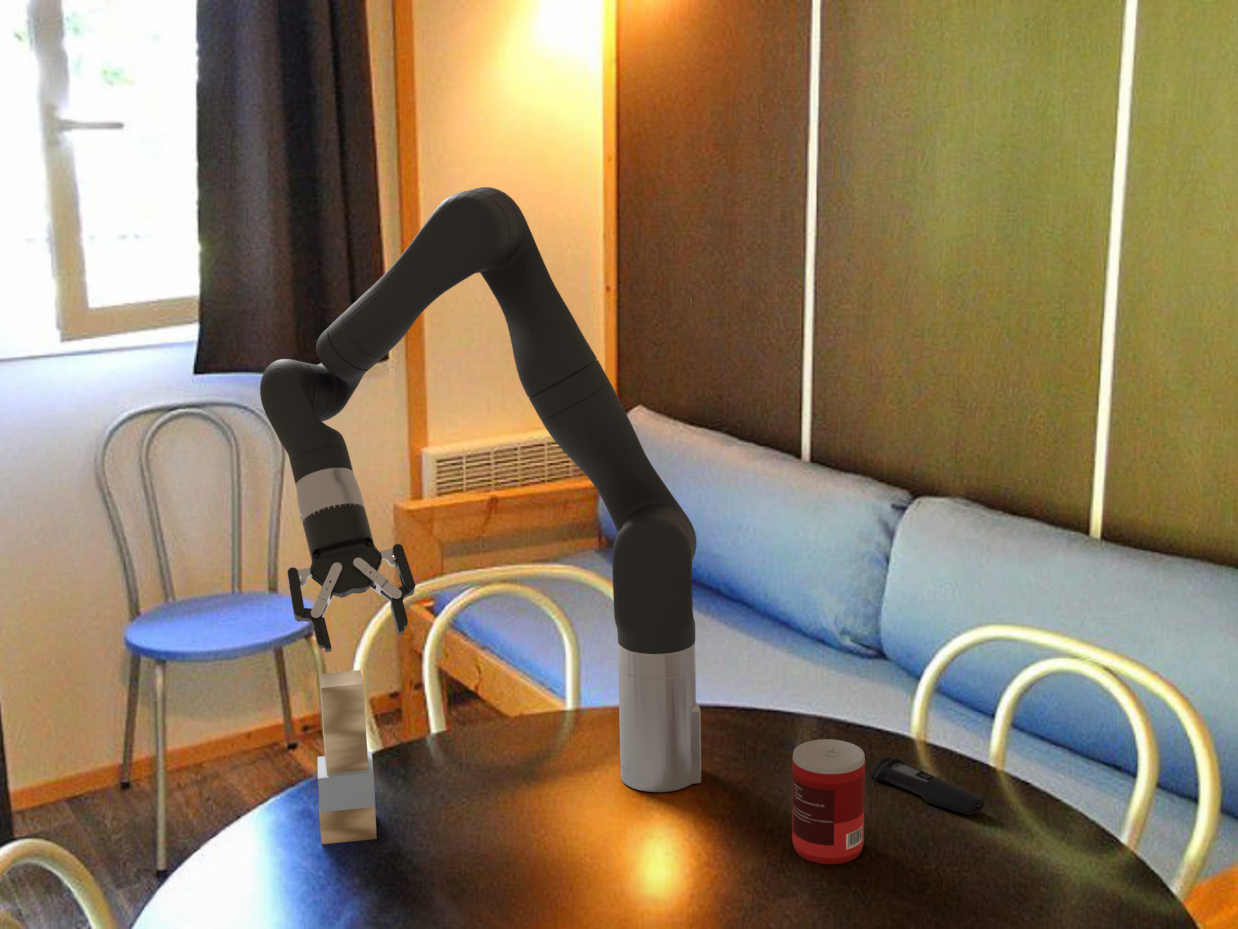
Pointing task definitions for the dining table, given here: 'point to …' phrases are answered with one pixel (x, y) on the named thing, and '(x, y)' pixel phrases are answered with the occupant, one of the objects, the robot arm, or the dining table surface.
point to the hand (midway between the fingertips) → (365, 641)
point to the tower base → (348, 825)
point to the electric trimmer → (927, 786)
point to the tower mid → (345, 788)
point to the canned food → (828, 801)
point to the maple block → (344, 721)
